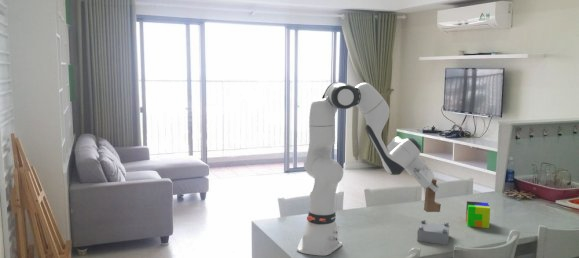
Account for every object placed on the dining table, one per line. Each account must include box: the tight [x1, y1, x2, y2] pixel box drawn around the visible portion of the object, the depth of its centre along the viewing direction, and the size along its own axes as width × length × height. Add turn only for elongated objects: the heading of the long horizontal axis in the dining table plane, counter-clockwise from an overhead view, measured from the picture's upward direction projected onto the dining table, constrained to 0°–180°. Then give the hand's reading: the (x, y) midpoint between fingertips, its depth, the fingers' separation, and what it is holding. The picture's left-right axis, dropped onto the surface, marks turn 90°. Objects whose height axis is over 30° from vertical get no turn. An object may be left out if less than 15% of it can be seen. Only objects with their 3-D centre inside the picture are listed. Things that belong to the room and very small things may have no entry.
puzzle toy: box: [465, 200, 491, 229], centre depth 241 cm, size 10×10×10 cm
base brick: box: [416, 219, 450, 246], centre depth 220 cm, size 13×13×6 cm
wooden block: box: [423, 178, 441, 213], centre depth 220 cm, size 7×3×15 cm, turn 101°
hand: (437, 189), depth 218 cm, fingers closed on wooden block, 4 cm apart
